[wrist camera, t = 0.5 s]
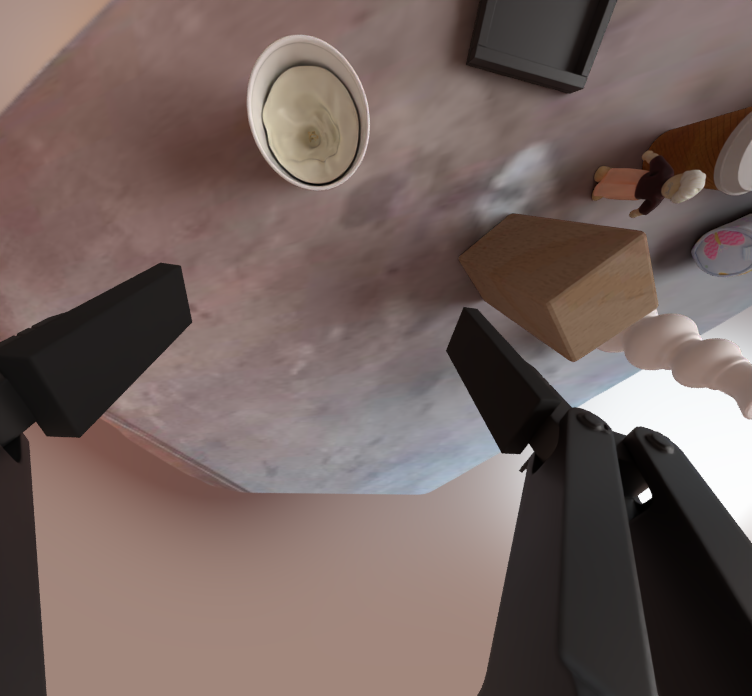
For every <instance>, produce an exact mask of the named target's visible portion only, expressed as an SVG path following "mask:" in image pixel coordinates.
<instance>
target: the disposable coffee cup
mask: <svg viewBox="0 0 752 696" xmlns="http://www.w3.org/2000/svg"><path fill="white" fill-rule="evenodd" d="M648 151H653V153H656V154H658V155H661V156H663V157H664V159H665V160H666V161H667V162H668V163H669V165H670V166H671V167H672V168H673V170H674V176H675V175H678V174H683V173H684V172H685V171H691V170H700V171H701V172H702V173H705V174H706V179H705V186H704V188H706V189H714V190H720V191H721V192H724V193H725V194H728V195H741V194H744V193H747V192H749V191H752V107H748V108H745V109H741V110H738V111H734V112H731V113H727V114H724V115H720V116H717V117H714V118H711V119H707V120H703V121H700V122H697V123H693V124H690V125H686V126H683V127H679V128H676V129H672V130H669V131H667V132H665V133H663V134H662V135H661V136H659V137H658V138H657V139H656V140H655V141H654V142H653V144H652V145H651V146H650V148H649V150H648ZM642 170H647V171H649V170H650V164H649V163H647V162H646V160H644V161H643V166H642Z"/></svg>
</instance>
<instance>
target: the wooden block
mask: <svg viewBox="0 0 752 696" xmlns="http://www.w3.org/2000/svg"><path fill="white" fill-rule="evenodd" d="M459 261H460V263H461V265H462V266H463V268H464V269H465V271H466V273H467V274H468V276H469V277H470V279H471V281H472V282H473V284H474V285H475V287H476V288H477V290H478V292H479V293H480V295H481V296H482V298H483V300H484V301H486V302H487V303H488V304H490V305H491V306H493V307H494V308H495V309H497V310H498V311H500V312H501V313H503V314H504V315H505V316H507V317H508V318H510V319H511V320H513V321H514V322H515V323H517V324H518V325H520V326H521V327H522V328H524V329H525V330H527V331H528V332H530V333H531V334H532V335H534V336H535V337H537V338H538V339H539V340H541V341H542V342H544V343H545V344H547V345H548V346H549V347H551V348H552V349H554V350H555V351H556V352H558V353H559V354H561V355H562V356H564V357H565V358H566V359H568V360H569V361H572V362H575V361H577V360H579V359H580V358H582V357H584V356H585V355H587V354H588V353H590V352H591V351H593V350H594V349H596V348H597V347H599V346H600V345H602V344H603V343H605V342H606V341H608V340H610V339H611V338H613V337H614V336H616V335H617V334H619V333H620V332H622V331H623V330H625V329H626V328H628V327H629V326H631V325H632V324H634V323H636V322H637V321H639V320H640V319H642V318H643V317H645V316H646V315H648V314H649V313H651V312H652V311H654V310H655V309H656V308H657V307H658V300H657V294H656V288H655V283H654V277H653V271H652V266H651V260H650V254H649V248H648V243H647V237H646V234H645V233H644V232H642V231H638V230H631V229H623V228H616V227H609V226H601V225H594V224H587V223H580V222H572V221H565V220H558V219H551V218H543V217H536V216H529V215H522V214H514V213H512V214H510V215H509V216H507V217H506V218H505V219H504V220H503V221H501V222H500V223H499V224H498V225H497V226H495V227H494V228H493V229H492V230H491V231H489V232H488V233H487V234H486V235H485V236H483V237H482V238H481V239H480V240H479V241H477V242H476V243H475V244H474V245H473V246H471V247H470V248H469V249H468V250H467V251H465V252H464V253H463V254H462V255H461V256H459Z"/></svg>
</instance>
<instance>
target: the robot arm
mask: <svg viewBox="0 0 752 696" xmlns="http://www.w3.org/2000/svg"><path fill="white" fill-rule="evenodd" d="M191 323H192V319H191V314H190V309H189V304H188V299H187V294H186V289H185V284H184V279H183V274H182V269H181V266H179V265H173V264H166V263H159V264H157V265H155V266H153V267H151V268H150V269H148V270H146V271H144V272H142V273H140V274H138V275H136V276H134V277H133V278H131V279H129V280H127V281H125V282H123V283H121V284H119V285H117V286H116V287H114V288H112V289H110V290H108V291H106V292H104V293H102V294H100V295H98V296H97V297H95V298H93V299H91V300H89V301H87V302H85V303H83V304H81V305H80V306H78V307H76V308H74V309H72V310H70V311H68V312H65V313H62V314H59V315H55V316H52V317H49V318H47V319H45V320H43V321H41V322H39V323H37V324H35V325H33V326H32V328H27V329H25V330H23V331H21V332H19V333H18V334H17V336H12V337H10V338H8V339H6V340H4V341H2V342H0V696H47V694H46V679H45V665H44V651H43V636H42V622H41V608H40V593H39V579H38V564H37V550H36V535H35V521H34V506H33V492H32V477H31V463H30V449H29V441H28V439H27V438H26V436H25V435H24V434H23V432H24V431H25V430H26V429H27V428H28V427H30V426H31V425H32V424H33V423H35V422H37V424H38V425H39V426H40V428H41V429H42V430H43V432H44V433H45V435H46V436H53V437H78V438H80V437H81V436H82V435H83V434H84V433H85V432H86V431H87V430H88V429H89V428H90V427H91V426H92V425H93V424H94V423H95V422H96V421H97V419H99V418H100V417H101V416H102V414H103V413H104V412H105V411H106V410H107V409H108V408H109V407H110V406H111V405H112V404H113V403H114V402H115V401H116V400H117V399H118V398H119V397H120V396H121V395H122V394H123V393H124V392H125V391H126V390H127V389H128V388H129V387H130V386H131V385H132V384H133V383H134V382H135V381H136V380H137V379H138V378H139V376H140V375H141V374H142V373H143V372H144V371H145V370H146V369H147V368H148V367H149V366H150V365H151V364H152V363H153V362H154V361H155V360H156V359H157V358H158V357H159V356H160V355H161V354H162V353H163V352H164V351H165V350H166V349H167V348H168V347H169V346H170V345H171V344H172V343H173V342H174V341H175V340H176V338H177V337H178V336H179V335H180V334H181V333H182V332H183V331H184V330H185V329H186V328H187V327H188V326H189V325H190V324H191ZM446 352H447V353H448V355H449V357H450V359H451V361H452V363H453V364H454V366H455V368H456V370H457V372H458V374H459V375H460V377H461V379H462V381H463V383H464V385H465V386H466V388H467V390H468V392H469V394H470V396H471V397H472V399H473V401H474V403H475V405H476V407H477V408H478V410H479V412H480V414H481V416H482V418H483V420H484V421H485V423H486V425H487V427H488V429H489V431H490V432H491V434H492V436H493V438H494V440H495V442H496V443H497V445H498V447H499V449H500V451H501V453H505V454H521V452H522V451H523V450H524V449H525V447H526V446H527V445H528V444H530V446H531V447H532V448H533V450H534V453H533V454H532V455H531V456H530V458H529V459H528V460H527V461H526V462H525V463H524V465H523V466H522V467H521V469H520V470H519V471H520V472H523V471H524V470H525V469H527V472H526V477H525V482H524V487H523V492H522V497H521V502H520V508H519V512H518V518H517V522H516V528H515V532H514V537H513V542H512V547H511V552H510V557H509V562H508V567H507V572H506V577H505V582H504V587H503V592H502V597H501V602H500V607H499V612H498V617H497V622H496V627H495V632H494V638H493V643H492V647H491V653H490V658H489V663H488V667H487V672H486V676H485V680H484V683H483V685H482V688H481V690H480V692H479V694H478V695H477V696H752V543H751V541H750V540H749V539H748V537H747V536H746V535H745V534H744V532H743V531H742V530H741V528H740V527H739V526H738V525H737V523H736V522H735V520H734V519H733V518H732V516H731V515H730V514H729V512H728V511H727V510H726V508H725V507H724V506H723V504H722V503H721V502H720V501H719V499H718V498H717V497H716V495H715V494H714V493H713V491H712V490H711V489H710V487H709V486H708V485H707V483H706V482H705V481H704V479H703V478H702V477H701V475H700V474H699V473H698V472H697V470H696V469H695V467H694V466H693V465H692V464H691V462H690V461H689V460H688V458H687V457H686V456H685V454H684V453H683V452H682V451H681V450H680V449H679V447H678V446H677V445H675V444H674V443H673V442H671V441H670V439H669V438H667V437H666V436H663V435H662V434H661V433H659V432H655V431H653V430H651V429H648V428H644V427H636V428H634V429H633V430H632V431H631V432H630V433H629V434H628V435H627V436H626V435H623V434H620V433H616V432H613V431H612V430H611V428H610V427H609V426H608V425H607V423H606V422H604V421H603V420H602V419H601V418H599V417H598V416H596V415H595V414H593V413H591V412H589V411H586V410H584V409H581V408H576V407H574V408H572V407H571V406H570V405H569V404H568V403H567V402H566V401H565V400H564V399H563V398H562V396H561V395H560V394H559V393H558V392H557V391H556V390H555V389H554V388H553V387H552V386H551V385H549V383H548V382H547V380H546V379H545V378H542V377H543V376H542V375H541V374H540V373H539V372H538V371H537V370H536V369H535V368H534V367H533V366H531V365H530V364H529V363H527V362H526V361H525V360H524V359H523V358H522V357H521V356H520V355H519V354H518V353H517V352H516V351H515V350H514V348H513V347H512V346H511V345H510V344H509V343H508V342H507V341H506V340H505V339H504V338H503V337H502V335H501V334H500V333H499V332H498V331H497V330H496V329H495V328H494V327H493V326H492V325H491V323H490V322H489V321H488V320H487V319H486V318H485V317H484V316H483V315H482V314H481V313H480V311H479V310H478V309H474V308H467V307H464V308H463V310H462V312H461V315H460V317H459V320H458V322H457V325H456V327H455V330H454V332H453V335H452V337H451V340H450V342H449V345H448V347H447V350H446ZM648 487H649V489H650V491H651V493H652V498H651V499H650V500H648V501H647V502H645V503H643V504H642V503H641V502H640V500H639V498H638V495H639V494H640V493H642V492H643V491H644V490H646V489H647V488H648Z"/></svg>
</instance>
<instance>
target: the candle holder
mask: <svg viewBox="0 0 752 696" xmlns="http://www.w3.org/2000/svg"><path fill="white" fill-rule="evenodd" d="M247 115H248V120H249V125H250V129H251V132H252V135H253V138H254V140H255V143H256V145H257V147H258V149H259V151H260V152H261V154H262V156H263V157H264V159H265V160H266V161H267V163H268V164H269V165H270V166H271V168H272V169H273V170H274V171H275V172H276V173H277V174H278V175H280V176H281V177H282V178H283V179H285V180H286V181H288V182H289V183H291V184H293V185H295V186H297V187H300V188H303V189H307V190H313V191H322V190H328V189H332V188H334V187H337V186H339V185H341V184H342V183H344V182H345V181H346V180H348V179H349V178H350V177H351V176H352V175H353V174H354V173H355V171H356V170H357V169H358V167H359V165H360V164H361V162H362V160H363V157H364V155H365V152H366V149H367V145H368V141H369V133H370V116H369V108H368V103H367V99H366V95H365V92H364V89H363V87H362V84H361V82H360V80H359V78H358V76H357V74H356V72H355V71H354V69H353V68H352V66H351V65H350V63H349V62H348V61H347V60H346V58H345V57H344V56H343V55H342V54H341V53H340V52H339V51H338V50H336V49H335V48H334V47H333V46H331V45H330V44H328V43H326V42H325V41H323V40H320V39H318V38H315V37H312V36H308V35H290V36H286V37H283V38H280V39H278V40H276V41H275V42H273V43H272V44H270V45H269V46H268V47H267V48H266V49H265V50H264V51H263V52H262V53H261V55H260V56H259V58H258V59H257V61H256V63H255V64H254V67H253V69H252V72H251V74H250V78H249V82H248V87H247Z"/></svg>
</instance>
